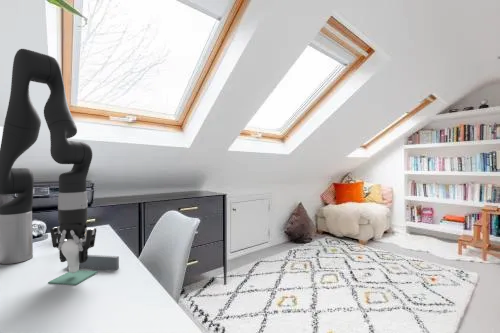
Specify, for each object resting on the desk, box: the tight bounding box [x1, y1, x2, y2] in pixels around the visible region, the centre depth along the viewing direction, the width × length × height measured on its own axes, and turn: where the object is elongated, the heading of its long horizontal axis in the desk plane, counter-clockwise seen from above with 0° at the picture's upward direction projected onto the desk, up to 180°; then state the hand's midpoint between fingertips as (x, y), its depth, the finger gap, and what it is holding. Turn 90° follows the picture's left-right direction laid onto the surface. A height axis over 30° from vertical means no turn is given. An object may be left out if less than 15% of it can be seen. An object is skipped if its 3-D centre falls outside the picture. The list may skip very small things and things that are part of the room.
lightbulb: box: [61, 239, 84, 274], centre depth 82 cm, size 6×6×11 cm
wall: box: [66, 254, 120, 271], centre depth 90 cm, size 18×1×4 cm, turn 82°
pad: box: [47, 269, 99, 286], centre depth 82 cm, size 9×9×1 cm
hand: (73, 261), depth 82 cm, fingers closed on lightbulb, 5 cm apart
